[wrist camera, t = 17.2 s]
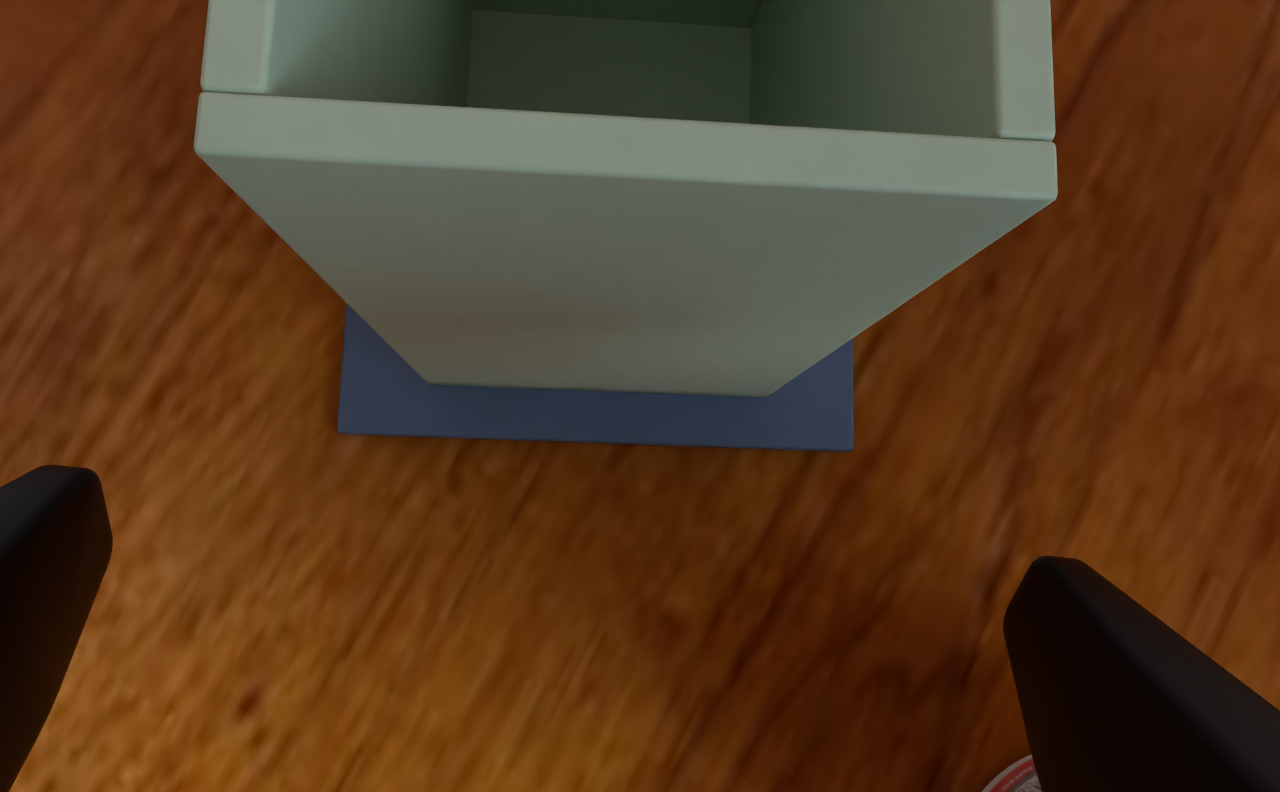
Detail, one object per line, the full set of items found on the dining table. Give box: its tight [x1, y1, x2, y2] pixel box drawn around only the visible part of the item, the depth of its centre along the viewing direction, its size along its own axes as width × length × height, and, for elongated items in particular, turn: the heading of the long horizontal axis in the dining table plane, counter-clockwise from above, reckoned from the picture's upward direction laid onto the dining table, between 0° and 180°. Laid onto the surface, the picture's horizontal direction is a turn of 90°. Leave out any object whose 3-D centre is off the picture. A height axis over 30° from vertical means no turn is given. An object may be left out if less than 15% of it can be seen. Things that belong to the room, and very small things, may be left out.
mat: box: [337, 304, 854, 452], centre depth 19 cm, size 10×10×1 cm
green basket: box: [194, 0, 1058, 398], centre depth 13 cm, size 8×7×11 cm
